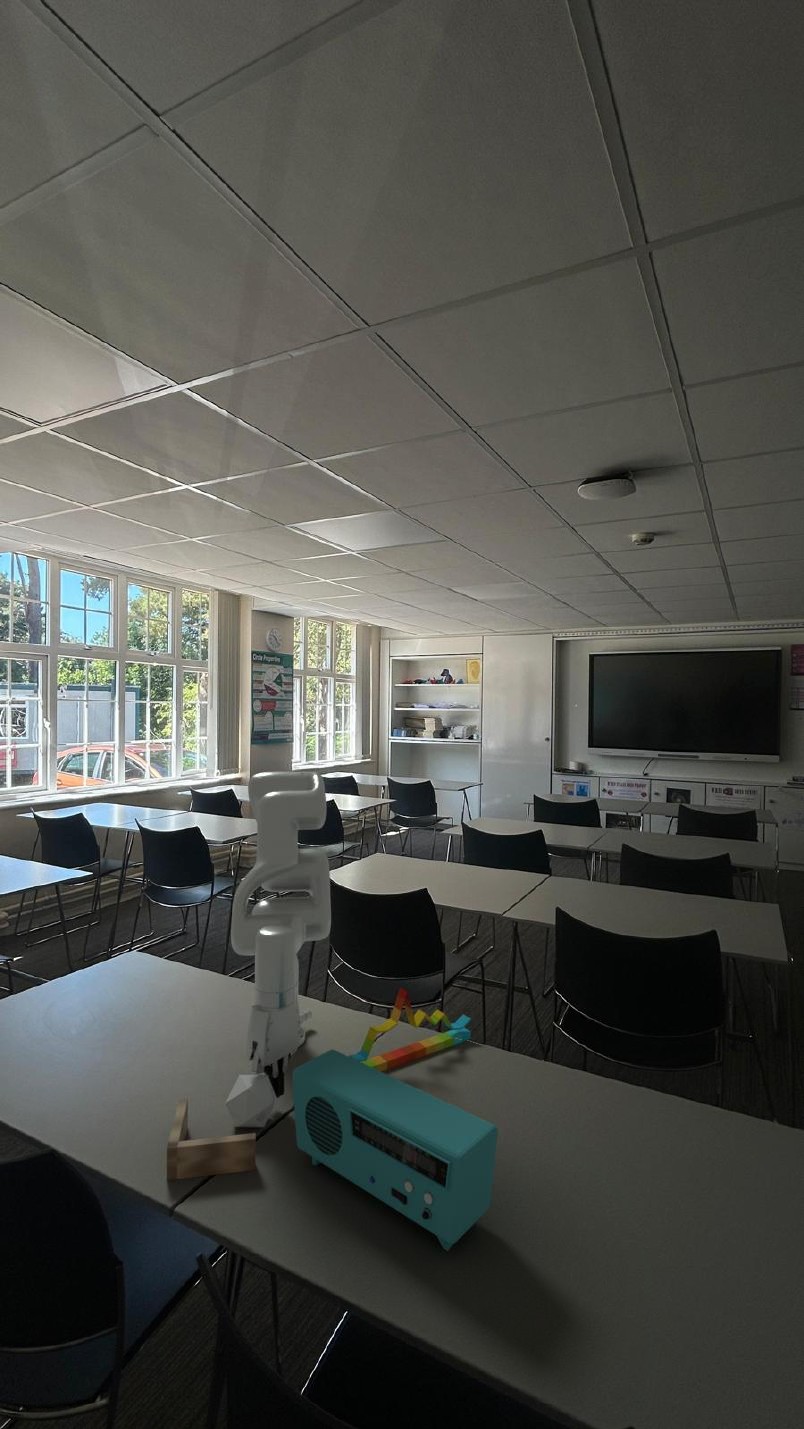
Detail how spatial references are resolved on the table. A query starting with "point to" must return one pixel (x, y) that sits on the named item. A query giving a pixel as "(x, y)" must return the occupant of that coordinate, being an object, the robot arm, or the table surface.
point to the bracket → (206, 1151)
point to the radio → (396, 1143)
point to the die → (251, 1101)
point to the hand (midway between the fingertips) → (275, 1093)
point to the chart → (416, 1048)
